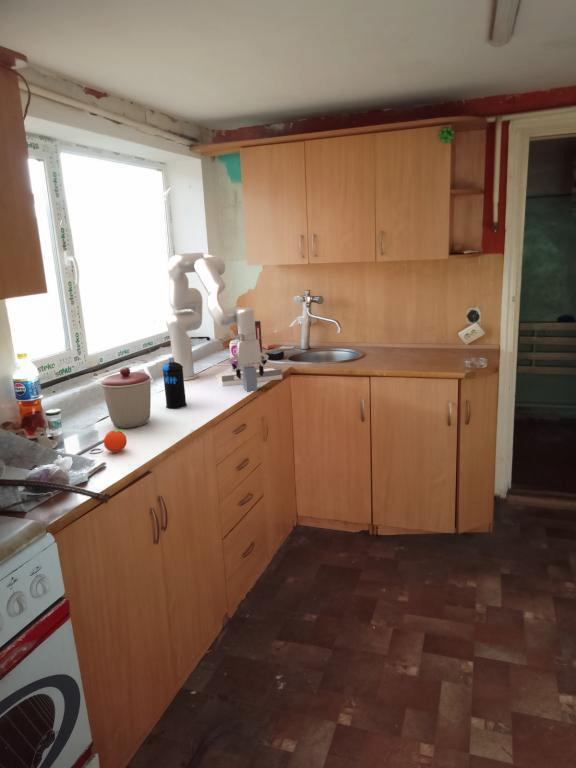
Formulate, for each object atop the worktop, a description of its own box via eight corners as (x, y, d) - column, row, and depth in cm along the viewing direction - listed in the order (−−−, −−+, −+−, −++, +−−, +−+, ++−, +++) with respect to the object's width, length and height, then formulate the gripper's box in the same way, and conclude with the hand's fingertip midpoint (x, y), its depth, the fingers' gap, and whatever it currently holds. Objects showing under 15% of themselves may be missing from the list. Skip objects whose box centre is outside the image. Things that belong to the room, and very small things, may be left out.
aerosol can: (177, 402, 233) (172, 354, 228) (191, 405, 228) (186, 356, 223) (161, 407, 227) (156, 358, 222) (175, 410, 222) (169, 360, 217)
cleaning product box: (247, 357, 317) (244, 321, 312) (262, 356, 315) (260, 320, 310) (239, 363, 301) (236, 325, 296) (255, 363, 299) (253, 325, 295)
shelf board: (222, 386, 255) (221, 376, 254) (216, 378, 270) (215, 369, 269) (282, 379, 262) (282, 369, 261) (273, 371, 277) (272, 362, 276)
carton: (247, 392, 242) (245, 369, 240) (243, 388, 249) (242, 366, 247) (258, 390, 244) (256, 368, 241) (254, 387, 250) (252, 365, 248)
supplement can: (245, 371, 281) (243, 341, 277) (229, 371, 283) (226, 342, 279) (249, 368, 289) (247, 338, 285) (234, 368, 290) (231, 339, 287)
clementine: (129, 445, 185) (127, 424, 183) (132, 452, 178) (130, 430, 177) (104, 450, 182) (101, 429, 180) (106, 457, 175) (103, 435, 174)
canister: (95, 427, 205) (87, 370, 200) (133, 413, 220) (127, 360, 214) (129, 434, 195) (121, 375, 190) (167, 420, 210) (161, 364, 205)
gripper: (228, 340, 235) (232, 381, 239) (269, 336, 239) (272, 375, 243) (225, 338, 242) (228, 377, 246) (264, 334, 246) (267, 372, 250)
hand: (250, 376), depth 245 cm, fingers open, 9 cm apart
